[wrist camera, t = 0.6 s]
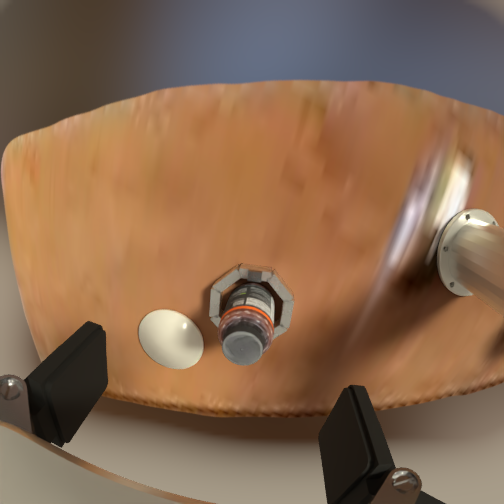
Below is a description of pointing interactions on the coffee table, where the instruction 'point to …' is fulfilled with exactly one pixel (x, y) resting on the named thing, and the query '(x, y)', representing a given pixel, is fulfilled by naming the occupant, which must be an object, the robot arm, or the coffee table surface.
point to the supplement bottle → (247, 324)
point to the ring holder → (255, 275)
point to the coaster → (171, 338)
